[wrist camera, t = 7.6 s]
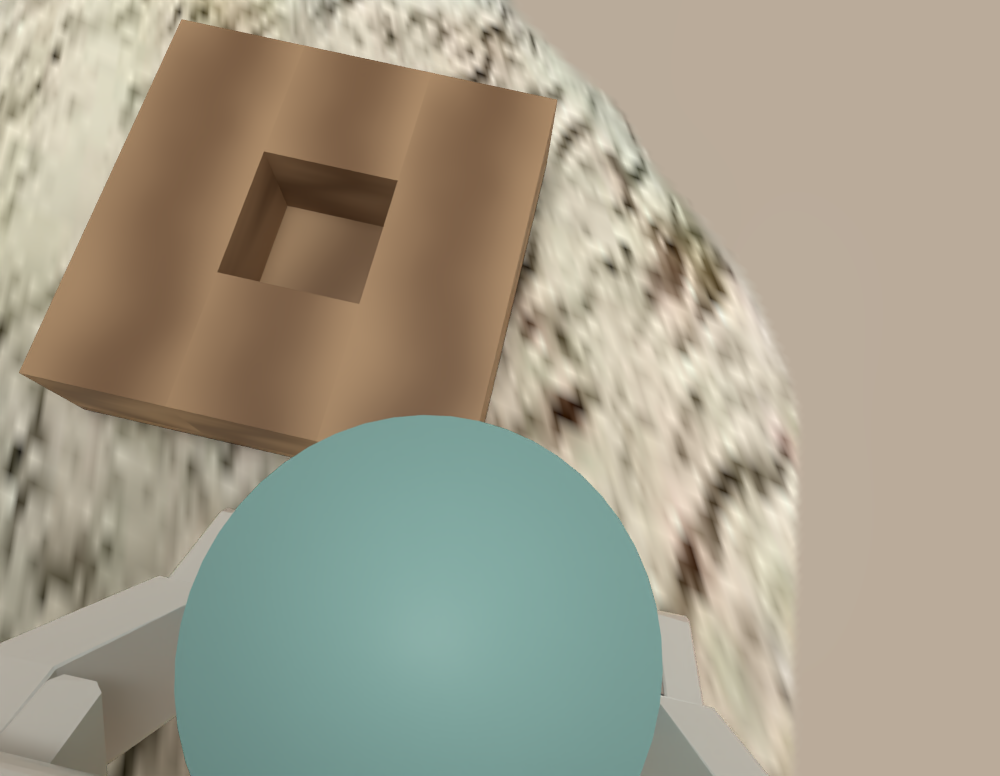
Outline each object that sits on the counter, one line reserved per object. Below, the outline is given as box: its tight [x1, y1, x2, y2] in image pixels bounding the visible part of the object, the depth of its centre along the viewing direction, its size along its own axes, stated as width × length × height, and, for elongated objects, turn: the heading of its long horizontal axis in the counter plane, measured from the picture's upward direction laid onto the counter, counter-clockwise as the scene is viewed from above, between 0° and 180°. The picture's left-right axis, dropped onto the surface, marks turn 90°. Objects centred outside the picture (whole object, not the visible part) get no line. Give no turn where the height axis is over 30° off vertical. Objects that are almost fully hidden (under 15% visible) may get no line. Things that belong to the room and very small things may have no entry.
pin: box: [174, 415, 663, 776], centre depth 11 cm, size 4×4×11 cm
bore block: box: [19, 20, 557, 457], centre depth 30 cm, size 16×16×4 cm
